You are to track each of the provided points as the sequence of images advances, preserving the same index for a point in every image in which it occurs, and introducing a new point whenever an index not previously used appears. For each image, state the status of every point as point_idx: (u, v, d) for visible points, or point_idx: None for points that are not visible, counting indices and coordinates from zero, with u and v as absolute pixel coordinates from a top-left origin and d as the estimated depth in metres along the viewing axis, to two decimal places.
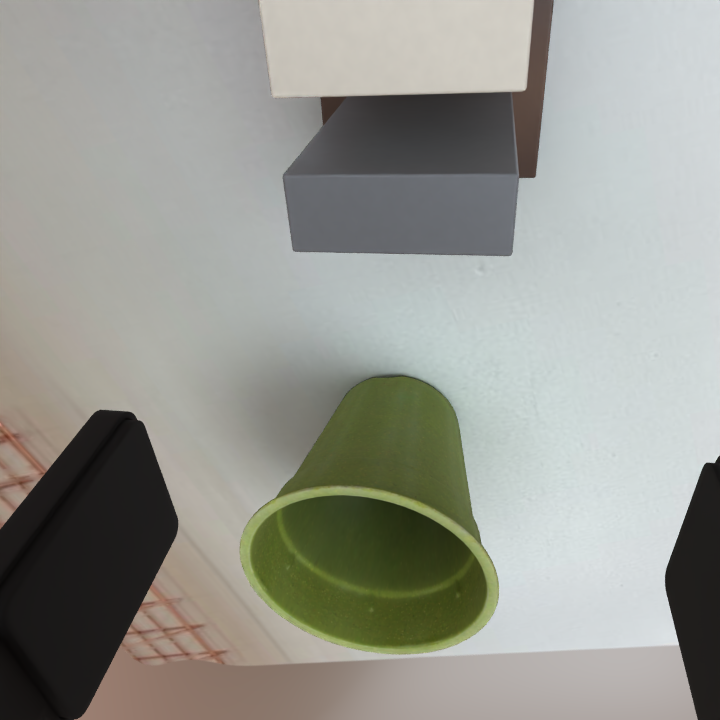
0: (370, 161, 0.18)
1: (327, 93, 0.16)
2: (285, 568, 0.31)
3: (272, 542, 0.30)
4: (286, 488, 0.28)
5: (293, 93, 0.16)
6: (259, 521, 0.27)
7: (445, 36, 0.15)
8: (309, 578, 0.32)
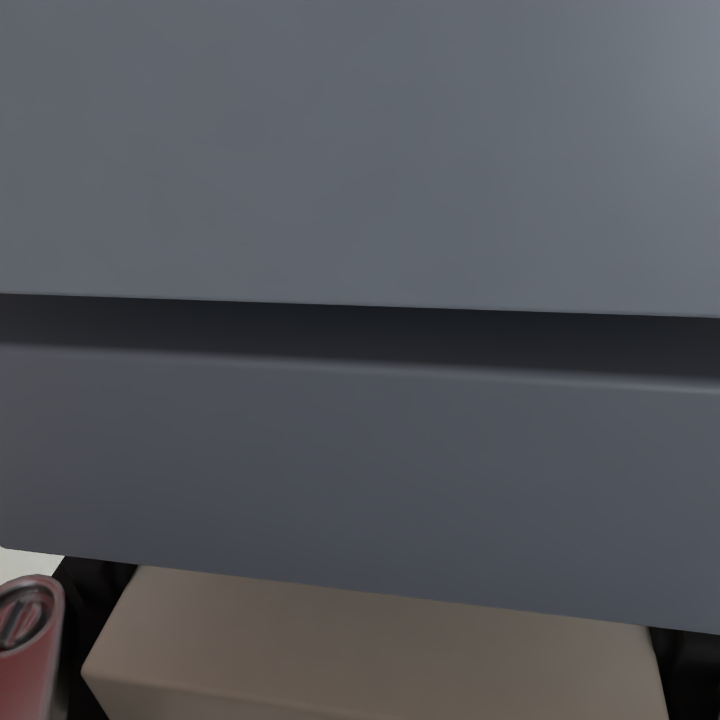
0: None
1: None
2: None
3: None
4: None
5: None
6: None
7: None
8: None
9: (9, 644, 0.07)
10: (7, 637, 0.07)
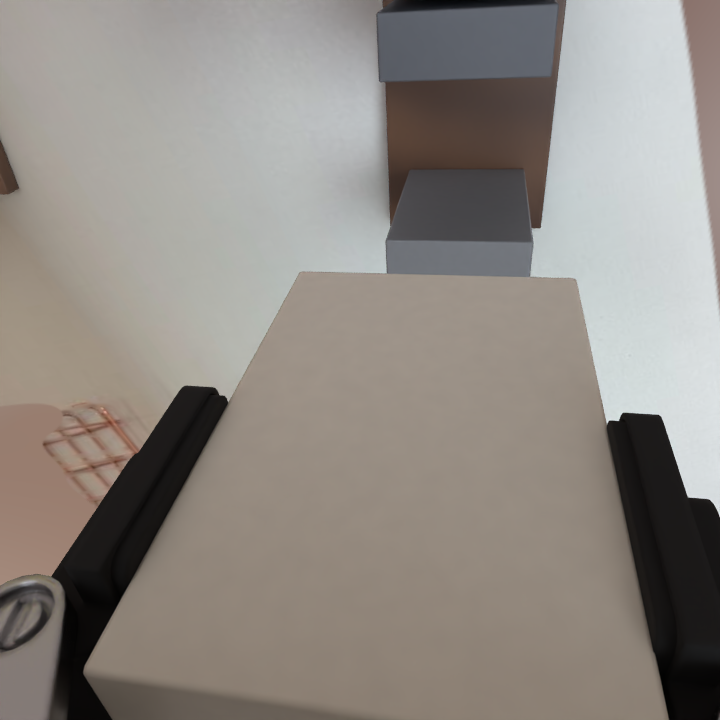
0: (439, 230, 0.28)
1: None
2: None
3: None
4: None
5: None
6: None
7: None
8: None
9: (9, 644, 0.07)
10: (7, 637, 0.07)
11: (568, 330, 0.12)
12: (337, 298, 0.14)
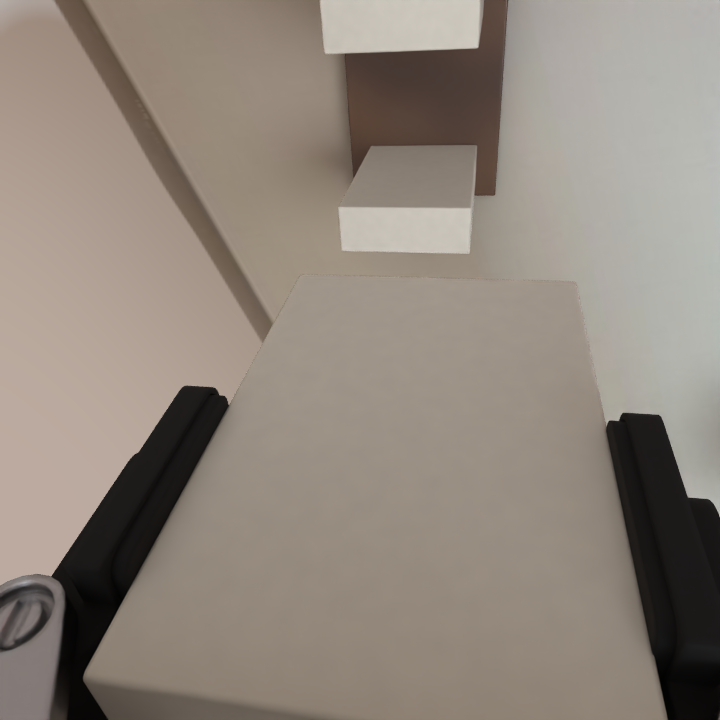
0: None
1: None
2: None
3: None
4: None
5: None
6: None
7: None
8: None
9: (10, 644, 0.07)
10: (8, 637, 0.07)
11: (567, 334, 0.12)
12: (337, 301, 0.14)
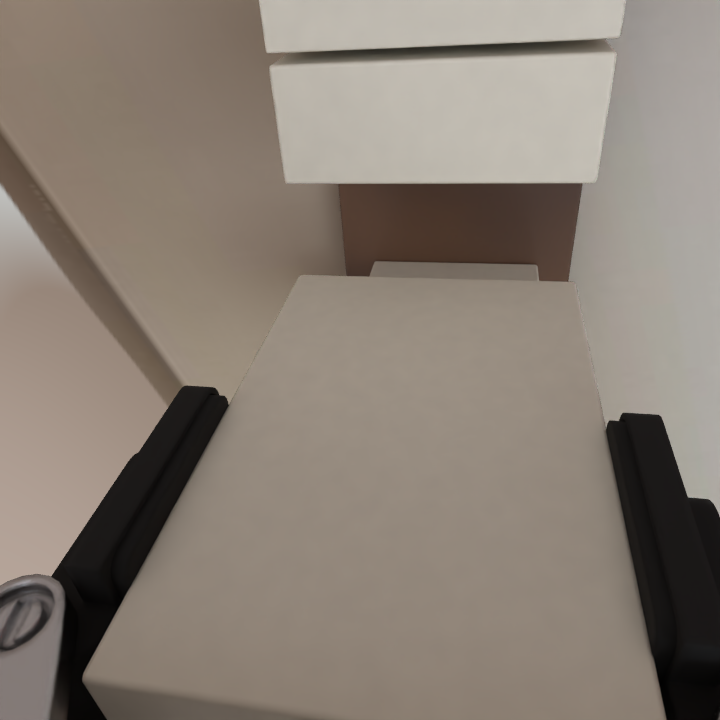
0: None
1: None
2: None
3: None
4: None
5: None
6: None
7: None
8: None
9: (9, 644, 0.07)
10: (7, 637, 0.07)
11: (567, 334, 0.12)
12: (336, 302, 0.14)
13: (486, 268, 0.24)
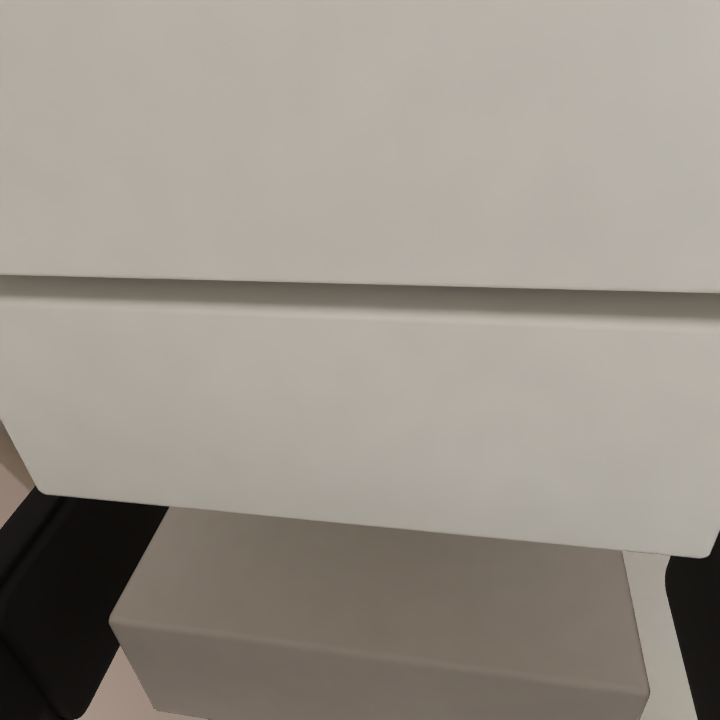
0: None
1: None
2: None
3: None
4: None
5: (190, 715, 0.09)
6: None
7: (464, 717, 0.08)
8: None
9: None
10: None
11: None
12: None
13: None
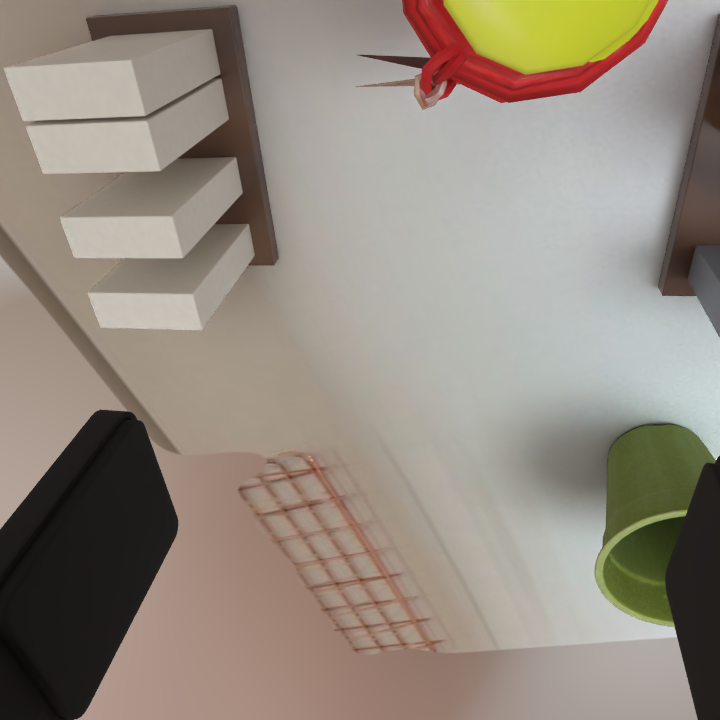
0: None
1: (98, 257, 0.34)
2: (608, 567, 0.43)
3: None
4: (636, 510, 0.40)
5: (83, 256, 0.34)
6: (626, 533, 0.39)
7: (142, 236, 0.32)
8: (619, 574, 0.44)
9: None
10: None
11: (218, 168, 0.38)
12: None
13: (219, 226, 0.42)
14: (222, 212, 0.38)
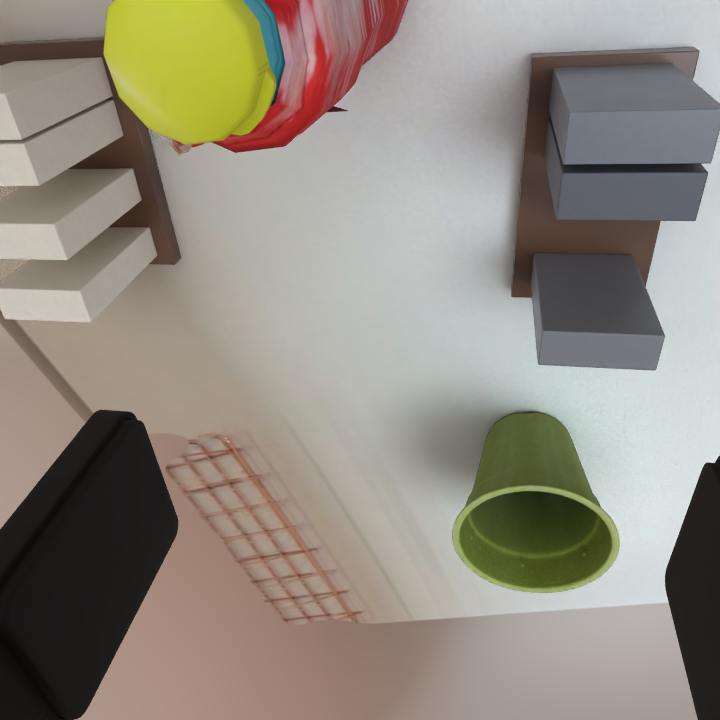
0: (583, 321, 0.35)
1: None
2: (470, 538, 0.49)
3: (465, 521, 0.48)
4: (485, 487, 0.45)
5: None
6: (473, 507, 0.44)
7: (31, 240, 0.37)
8: (482, 545, 0.50)
9: None
10: None
11: (112, 179, 0.43)
12: None
13: (123, 229, 0.47)
14: (115, 218, 0.42)
